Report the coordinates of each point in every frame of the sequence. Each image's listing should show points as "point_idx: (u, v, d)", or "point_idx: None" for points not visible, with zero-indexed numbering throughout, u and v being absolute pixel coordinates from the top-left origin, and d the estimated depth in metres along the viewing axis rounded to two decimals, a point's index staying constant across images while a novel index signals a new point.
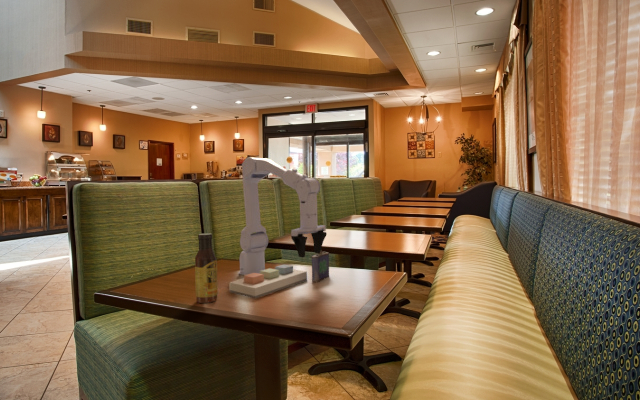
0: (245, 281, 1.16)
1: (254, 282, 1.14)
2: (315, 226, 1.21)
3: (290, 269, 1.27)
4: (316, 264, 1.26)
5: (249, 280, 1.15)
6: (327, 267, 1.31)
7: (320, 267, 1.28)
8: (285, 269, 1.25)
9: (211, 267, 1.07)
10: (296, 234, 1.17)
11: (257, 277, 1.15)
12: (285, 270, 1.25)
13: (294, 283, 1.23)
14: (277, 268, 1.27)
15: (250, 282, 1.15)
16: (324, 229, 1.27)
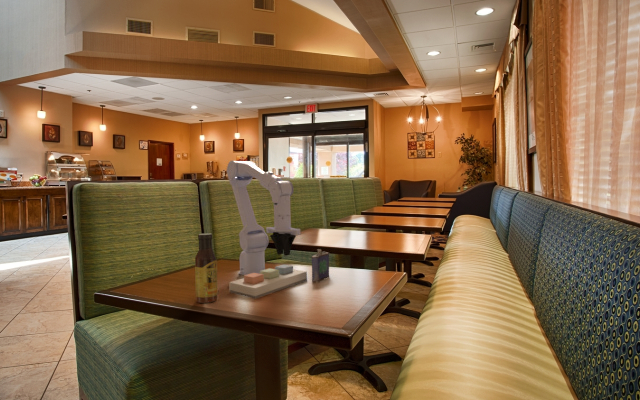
0: (245, 281, 1.16)
1: (254, 282, 1.14)
2: (277, 227, 1.25)
3: (290, 269, 1.27)
4: (316, 264, 1.26)
5: (249, 280, 1.15)
6: (327, 267, 1.31)
7: (320, 267, 1.28)
8: (285, 269, 1.25)
9: (211, 267, 1.07)
10: (267, 231, 1.31)
11: (257, 277, 1.15)
12: (285, 270, 1.25)
13: (294, 283, 1.23)
14: (277, 268, 1.27)
15: (250, 282, 1.15)
16: (295, 233, 1.23)
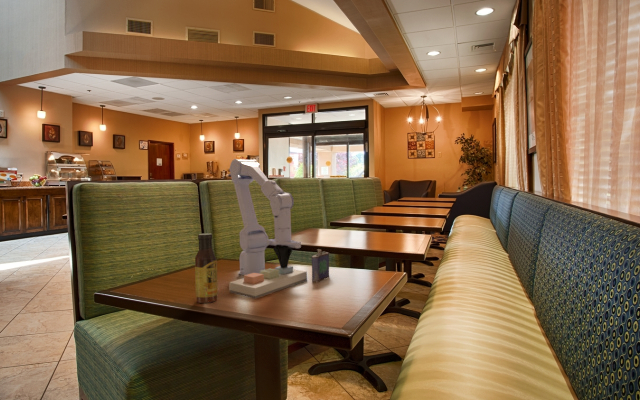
0: (245, 281, 1.16)
1: (254, 282, 1.14)
2: (277, 240, 1.25)
3: (290, 270, 1.27)
4: (316, 264, 1.25)
5: (249, 280, 1.15)
6: (327, 267, 1.31)
7: (320, 267, 1.28)
8: (285, 270, 1.25)
9: (211, 267, 1.07)
10: (267, 243, 1.31)
11: (257, 277, 1.15)
12: (285, 271, 1.25)
13: (294, 283, 1.23)
14: (277, 269, 1.27)
15: (250, 282, 1.15)
16: (295, 246, 1.23)
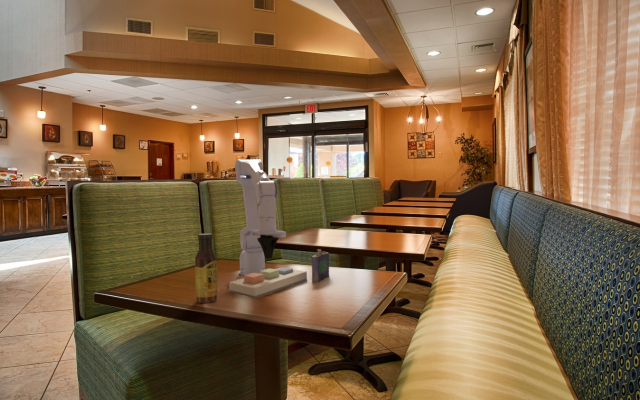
0: (245, 281, 1.16)
1: (254, 282, 1.14)
2: (261, 229, 1.19)
3: (290, 272, 1.27)
4: (316, 264, 1.25)
5: (249, 280, 1.15)
6: (327, 267, 1.31)
7: (320, 267, 1.28)
8: (285, 272, 1.25)
9: (211, 267, 1.07)
10: (251, 233, 1.25)
11: (257, 277, 1.15)
12: (285, 273, 1.25)
13: (294, 283, 1.23)
14: None
15: (250, 282, 1.15)
16: (280, 236, 1.17)
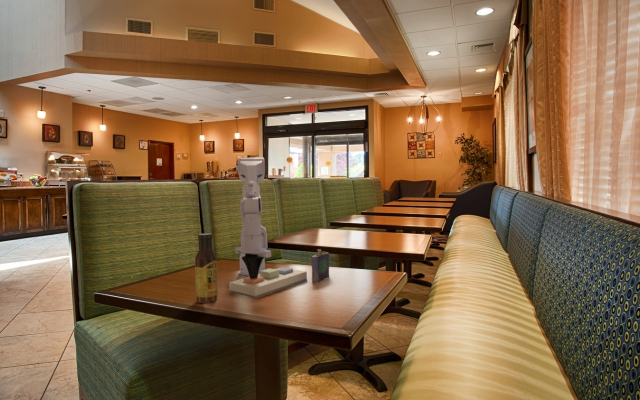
0: None
1: None
2: (246, 248, 1.14)
3: (290, 272, 1.27)
4: (316, 264, 1.26)
5: (249, 282, 1.15)
6: (327, 267, 1.31)
7: (320, 267, 1.28)
8: (285, 272, 1.25)
9: (211, 267, 1.07)
10: (236, 251, 1.20)
11: (257, 280, 1.15)
12: (285, 273, 1.25)
13: (294, 283, 1.23)
14: None
15: None
16: (265, 255, 1.12)
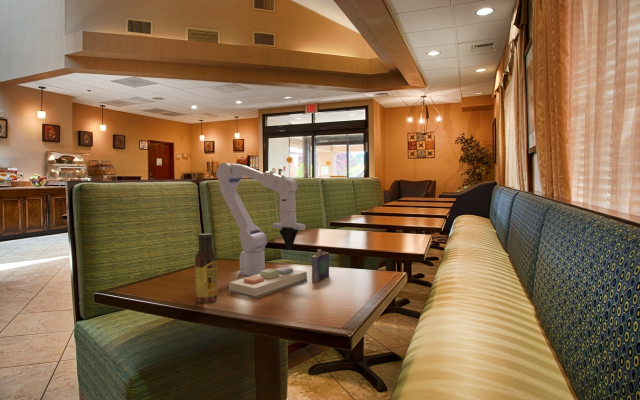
0: None
1: None
2: (283, 222, 1.31)
3: (290, 272, 1.27)
4: (316, 264, 1.25)
5: (249, 283, 1.15)
6: (327, 267, 1.31)
7: (320, 267, 1.28)
8: (285, 272, 1.25)
9: (211, 267, 1.07)
10: (273, 226, 1.37)
11: (257, 280, 1.15)
12: (285, 273, 1.25)
13: (294, 283, 1.23)
14: None
15: None
16: (300, 228, 1.29)
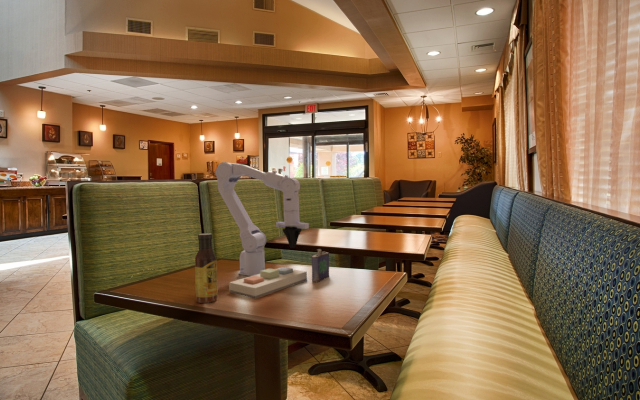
0: None
1: None
2: (287, 222, 1.33)
3: (290, 272, 1.27)
4: (316, 264, 1.25)
5: (249, 283, 1.15)
6: (327, 267, 1.31)
7: (320, 267, 1.28)
8: (285, 272, 1.25)
9: (211, 267, 1.07)
10: (276, 225, 1.39)
11: (257, 280, 1.15)
12: (285, 273, 1.25)
13: (294, 283, 1.23)
14: None
15: None
16: (304, 227, 1.31)
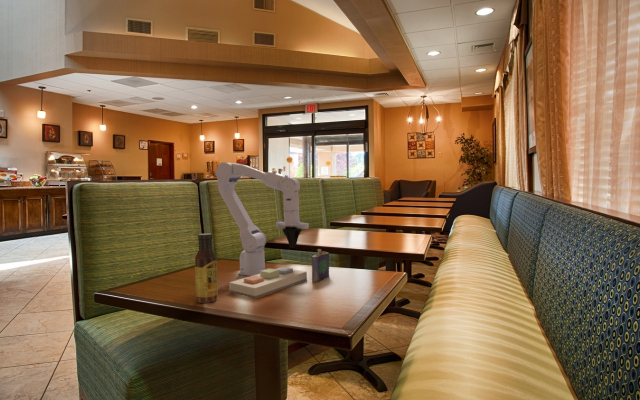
0: None
1: None
2: (287, 222, 1.33)
3: (290, 272, 1.27)
4: (316, 264, 1.25)
5: (249, 283, 1.15)
6: (327, 267, 1.31)
7: (320, 267, 1.28)
8: (285, 272, 1.25)
9: (211, 267, 1.07)
10: (276, 225, 1.39)
11: (257, 280, 1.15)
12: (285, 273, 1.25)
13: (294, 283, 1.23)
14: None
15: None
16: (304, 227, 1.31)
